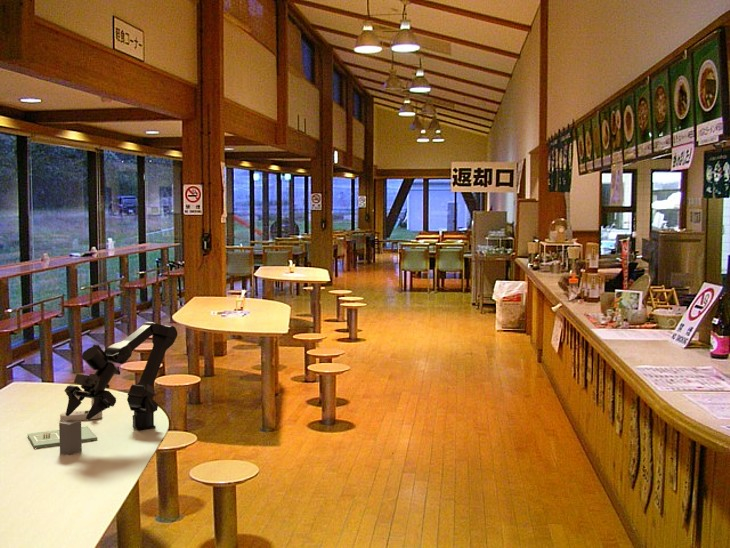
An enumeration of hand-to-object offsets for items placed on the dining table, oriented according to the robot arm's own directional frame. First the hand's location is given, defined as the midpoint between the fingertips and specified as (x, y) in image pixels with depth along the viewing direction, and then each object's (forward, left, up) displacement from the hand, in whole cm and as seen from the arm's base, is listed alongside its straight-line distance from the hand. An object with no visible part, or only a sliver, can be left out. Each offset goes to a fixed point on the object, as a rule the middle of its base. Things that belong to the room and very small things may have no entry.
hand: (76, 417), depth 259 cm
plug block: (+2, +1, -11) cm, 11 cm away
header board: (0, -16, -11) cm, 20 cm away
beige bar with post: (-13, -39, -11) cm, 42 cm away
